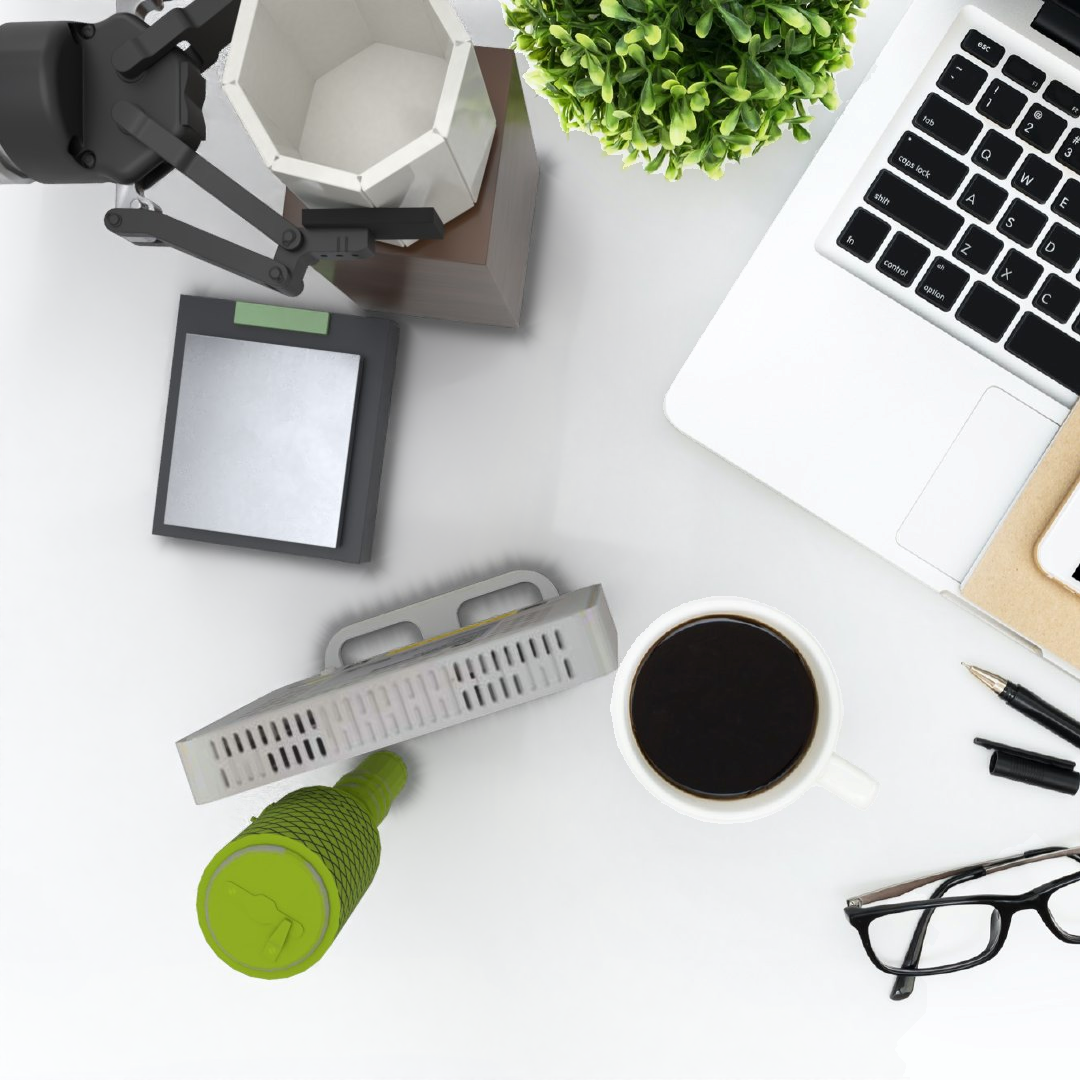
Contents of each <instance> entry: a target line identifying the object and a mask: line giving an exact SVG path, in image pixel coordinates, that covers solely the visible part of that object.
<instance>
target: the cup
mask: <svg viewBox="0 0 1080 1080" xmlns="http://www.w3.org/2000/svg"><path fill="white" fill-rule="evenodd" d="M473 45H474V44H473V40H472V37H471V36H470V34H469V33H468V30H467V29H466V27H465V26H464V24H463V22H462V20H461V19H460V17H459V16H458V13H457V11H456V10H455V8H454V7H453V5H452V3H451V1H450V0H241V4H240V8H239V12H238V16H237V20H236V25H235V29H234V33H233V37H232V41H231V43H230V44H229V49H228V54H227V58H226V61H225V65H224V68H223V74H222V77H221V85H222V86H221V88H222V90H223V92H224V94H225V96H226V98H227V99H228V101H229V103H230V105H231V107H232V108H233V110H234V112H235V113H236V116H237V117H238V119H239V120H240V122H241V124H242V126H243V127H244V129H245V131H246V133H247V134H248V136H249V138H250V139H251V142H252V143H253V145H254V146H255V149H256V150H257V152H258V154H259V155H260V157H261V159H262V160H263V162H264V164H265V166H266V167H267V169H269V170H270V171H271V172H272V174H273V175H274V176H275V177H277V178H278V180H279V181H281V182H282V183H283V184H284V185H285V187H286V186H287V187H288V188H289V189H290V190H291V191H292V192H293V193H294V194H295V195H296V196H297V197H298V198H299V199H300V200H301V201H302V202H303V203H304V204H305V205H306V206H307V207H308V208H309V209H333V208H408V207H434V209H435V210H436V212H437V214H438V215H439V217H440V219H441V220H442V222H443V224H445V223H447V222H448V221H450V220H452V219H453V218H455V217H457V216H458V215H460V214H462V213H463V212H465V211H466V210H468V209H470V208H471V207H473V206H474V203H476V202H477V198H478V194H479V191H480V187H481V183H482V179H483V175H484V171H485V167H486V164H487V160H488V156H489V152H490V148H491V144H492V141H493V137H494V133H495V129H496V119H495V116H494V113H493V109H492V106H491V103H490V99H489V96H488V93H487V90H486V86H485V83H484V80H483V76H482V73H481V70H480V66H479V63H478V60H477V57H476V53H475V50H474V47H473ZM473 202H474V203H473ZM418 240H419V239H415V240H377V241H381V242H385V243H389V244H393V245H397V246H401V247H404V246H405V245H406V246H407V247H408V246H409V245H411V244H413V243H414V242H416V241H418Z"/></svg>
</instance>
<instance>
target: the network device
mask: <svg viewBox="0 0 1080 1080" xmlns="http://www.w3.org/2000/svg"><path fill="white" fill-rule="evenodd" d="M523 582H525V583H531V584H533V585H534V586H536V587H537V589H538V590H539V591H540V595H541V597H542V601H539V602H536V603H533V604H529V605H527V606H524V607H521V608H517V609H513V610H511V611H508V612H504V613H502V614H499V615H495V616H492V617H490V618H487V619H484V620H481V621H477V622H475V623H471V624H468V625H466V626H461V623H460V620H459V615H458V614H459V609H460V607H461V605H462V604H463V603H465V601H468V600H472V599H475V598H477V597H480V596H483V595H487V594H489V593H492V592H495V591H498V590H501V589H504V588H508V587H511V586H513V585H516V584H520V583H523ZM612 615H613V614H612V612H611V609H610V606H609V603H608V600H607V598H606V594H605V591H604V589H603V586H602V583H601V582H600V583H595V584H591V585H588V586H585V587H582V588H581V587H580V588H579V589H576V590H572V591H569V592H566V593H563V594H560V593H559V591H558V588H557V587H556V586H555V584H554V583H553V581H551V579H549V578H548V577H547V576H545V575H544V574H542V573H540V572H539V571H534V570H531V569H516V570H512V571H508V572H506V573H505V572H504V573H502V574H499V575H496V576H494V577H490V578H488V579H484V580H481V581H479V582H475V583H472V584H469V585H467V586H463V587H460V588H457V589H454V590H452V591H449V592H445V593H442V594H439V595H436V596H433V597H430V598H427V599H425V600H422V601H418V602H415V603H412V604H409V605H406V606H404V607H400V608H397V609H394V610H390V611H388V612H385V613H382V614H379V615H375V616H373V617H370V618H367V619H364V620H361V621H358V622H355V623H351V624H350V625H348V626H345V627H342V628H341V629H340V630H339V631H337V632H336V633H335V634H334V635H333V637H331V639H330V640H329V642H328V644H327V646H326V650H325V653H324V667H325V669H322V670H320V671H319V673H318V674H316V675H313V676H309V677H307V678H304V679H301V680H298V681H295V682H292V683H289V684H287V685H284V686H281V687H279V688H277V689H274V690H272V691H270V692H268V693H266V694H264V695H262V696H260V697H259V698H257V699H255V700H252V701H251V702H249V703H247V704H245V705H243V706H241V707H239V708H238V709H236V710H233V711H232V712H230V713H228V714H226V715H224V716H223V717H219V719H217V720H215V721H213V722H211V723H209V724H207V725H205V726H204V727H201V728H200V729H198V730H196V731H194V732H192V733H190V734H188V735H186V736H184V737H182V738H181V739H179V740H176V741H175V742H174V744H175V747H176V750H177V753H178V757H179V759H180V762H181V765H182V767H183V771H184V774H185V777H186V779H187V783H188V786H189V789H190V791H191V795H192V798H193V800H194V804H195V806H202V805H207V804H210V803H214V802H216V801H217V802H218V801H219V800H222V799H223V800H224V799H226V798H229V797H232V796H235V795H239V794H242V793H244V792H248V791H251V790H254V789H257V788H260V787H264V786H266V785H267V786H268V785H270V784H273V783H276V782H280V781H283V780H286V779H288V778H292V777H295V776H298V775H302V774H304V773H308V772H311V771H314V770H317V769H320V768H322V767H327V766H330V765H332V764H335V763H339V762H343V761H345V760H348V759H352V758H355V757H358V756H360V755H365V754H367V753H370V752H374V751H376V750H377V751H378V750H379V749H382V748H386V747H389V746H392V745H395V744H399V743H401V742H405V741H407V740H411V739H415V738H417V737H420V736H421V737H422V736H424V735H426V734H427V735H428V734H429V733H433V732H437V731H440V730H442V729H445V728H449V727H452V726H455V725H458V724H461V723H464V722H468V721H470V720H473V719H478V718H480V717H483V716H486V715H489V714H493V713H496V712H499V711H502V710H506V709H509V708H513V707H515V706H517V705H521V704H524V703H527V702H530V701H534V700H536V699H539V698H543V697H546V696H549V695H552V694H555V693H558V692H562V691H565V690H567V689H571V688H573V687H577V686H580V685H583V684H586V683H590V682H592V681H596V680H598V679H600V678H603V677H606V676H608V675H610V674H612V673H614V672H616V671H617V670H618V669H619V642H618V641H619V640H618V638H619V637H618V631H617V627H616V624H615V622H614V618H613V616H612ZM403 622H410V623H412V624H414V625H415V626H416V627H417V628H418V629H419V631H420V633H421V636H422V639H423V640H420V641H417V642H414V643H410V644H408V645H405V646H402V647H398V648H395V649H392V650H390V651H386V652H383V653H380V654H377V655H374V656H371V657H367V658H365V659H361V660H359V661H355V662H353V663H349V664H347V665H345V664H344V662H343V658H342V647H343V646H344V644H345V642H347V641H348V640H350V639H354V638H356V637H360V636H363V635H366V634H368V633H372V632H374V631H378V630H381V629H383V628H387V627H389V626H392V625H395V624H398V623H403Z"/></svg>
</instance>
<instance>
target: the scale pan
mask: <svg viewBox="0 0 1080 1080" xmlns="http://www.w3.org/2000/svg"><path fill="white" fill-rule="evenodd" d="M363 360H364V357H362V356H361V355H356V354H348V353H340V352H332V351H324V350H316V349H308V348H300V347H292V346H284V345H276V344H268V343H260V342H252V341H244V340H236V339H228V338H220V337H212V336H204V335H196V334H188V333H187V334H186V341H185V350H184V358H183V366H182V375H181V383H180V391H179V400H178V408H177V416H176V425H175V433H174V442H173V450H172V458H171V467H170V475H169V483H168V492H167V500H166V508H165V517H164V524H166V525H174V526H181V527H188V528H195V529H202V530H209V531H216V532H223V533H230V534H237V535H244V536H251V537H258V538H265V539H272V540H280V541H287V542H294V543H301V544H308V545H315V546H322V547H329V548H340V541H341V533H342V525H343V518H344V510H345V502H346V494H347V486H348V478H349V470H350V463H351V455H352V447H353V439H354V431H355V423H356V415H357V407H358V400H359V392H360V384H361V376H362V368H363Z"/></svg>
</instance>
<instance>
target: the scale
mask: <svg viewBox="0 0 1080 1080" xmlns="http://www.w3.org/2000/svg"><path fill="white" fill-rule="evenodd" d="M400 329H401V327H399V326H398V324H396V323H395V322H394V321H393V320H391V319H389V318H388V319H387V318H380V317H374V316H373V317H372V316H365V315H364V316H363V315H355V314H348V313H340V312H331V311H323V310H315V309H306V308H298V307H289V306H283V305H275V304H265V303H257V302H250V301H241V300H234V299H233V300H232V299H225V298H216V297H210V296H209V297H208V296H200V295H193V294H184V293H180V294H179V301H178V311H177V318H176V327H175V336H174V344H173V351H172V352H173V353H172V360H171V367H170V368H171V370H170V378H169V386H168V393H167V394H168V395H167V402H166V403H167V404H166V410H165V419H164V427H163V428H164V429H163V436H162V445H161V454H160V462H159V468H158V469H159V470H158V478H157V487H156V496H155V505H154V512H153V520H152V528H151V535H153V536H161V537H165V538H167V537H168V538H173V539H174V538H175V539H181V540H188V541H196V542H201V543H202V542H203V543H210V544H217V545H222V546H223V545H224V546H229V547H238V548H243V549H244V548H245V549H250V550H251V549H252V550H258V551H265V552H272V553H280V554H287V555H293V556H301V557H307V558H315V559H321V560H329V561H336V562H341V563H342V562H343V563H350V564H357V565H361V564H365V563H370V562H371V556H372V549H373V543H374V542H373V541H374V533H375V526H376V518H377V517H376V516H377V509H378V501H379V495H380V488H381V479H382V471H383V465H384V463H383V462H384V455H385V448H386V439H387V432H388V423H389V416H390V409H391V401H392V393H393V385H394V377H395V369H396V363H397V362H396V361H397V354H398V347H399V346H398V345H399V339H400V338H399V337H400ZM187 333H188V334H196V335H204V336H212V337H220V338H228V339H236V340H244V341H252V342H260V343H268V344H276V345H284V346H292V347H300V348H308V349H316V350H324V351H332V352H340V353H348V354H356V355H361V356H362V357H364V360H363V368H362V376H361V384H360V392H359V400H358V407H357V415H356V423H355V431H354V439H353V447H352V455H351V463H350V470H349V478H348V486H347V494H346V502H345V510H344V518H343V525H342V533H341V541H340V548H329V547H322V546H315V545H308V544H301V543H294V542H287V541H280V540H272V539H265V538H258V537H251V536H244V535H237V534H230V533H223V532H216V531H209V530H202V529H195V528H188V527H181V526H174V525H166V524H164V517H165V508H166V500H167V492H168V483H169V475H170V467H171V458H172V450H173V442H174V433H175V425H176V416H177V408H178V400H179V391H180V383H181V375H182V366H183V358H184V350H185V341H186V334H187Z"/></svg>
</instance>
